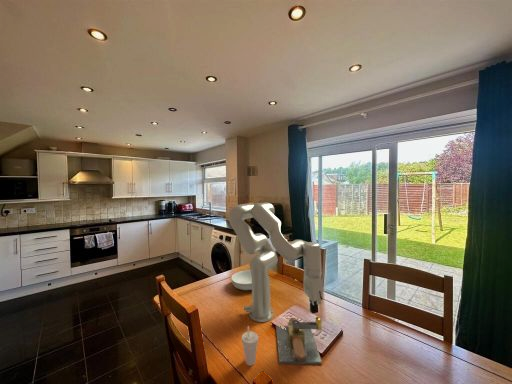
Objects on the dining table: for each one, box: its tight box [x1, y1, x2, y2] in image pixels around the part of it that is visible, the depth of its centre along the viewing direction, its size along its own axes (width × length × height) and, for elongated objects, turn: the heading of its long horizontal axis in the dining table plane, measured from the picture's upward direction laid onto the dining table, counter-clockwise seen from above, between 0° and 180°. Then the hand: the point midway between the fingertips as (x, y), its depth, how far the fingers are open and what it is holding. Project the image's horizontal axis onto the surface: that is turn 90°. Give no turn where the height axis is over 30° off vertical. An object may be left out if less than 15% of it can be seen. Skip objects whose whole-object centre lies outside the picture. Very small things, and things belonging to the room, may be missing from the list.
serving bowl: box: [230, 269, 252, 291], centre depth 140 cm, size 21×21×7 cm
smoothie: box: [241, 325, 259, 366], centre depth 80 cm, size 6×6×14 cm
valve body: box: [275, 317, 323, 365], centre depth 89 cm, size 16×20×6 cm
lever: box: [292, 316, 323, 332], centre depth 88 cm, size 12×3×5 cm, turn 88°
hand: (314, 312), depth 92 cm, fingers closed
